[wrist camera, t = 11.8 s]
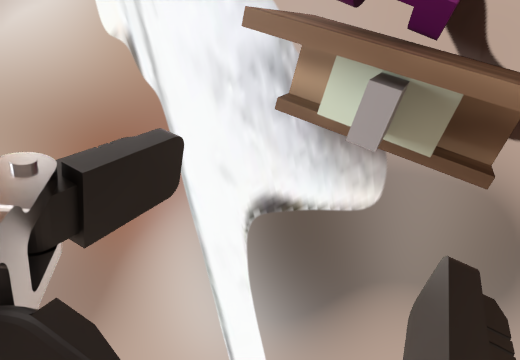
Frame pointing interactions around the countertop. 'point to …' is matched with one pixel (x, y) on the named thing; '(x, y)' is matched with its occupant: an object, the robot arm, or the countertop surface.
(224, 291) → the countertop surface
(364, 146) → the tab block
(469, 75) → the wooden tablet stand
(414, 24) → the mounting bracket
